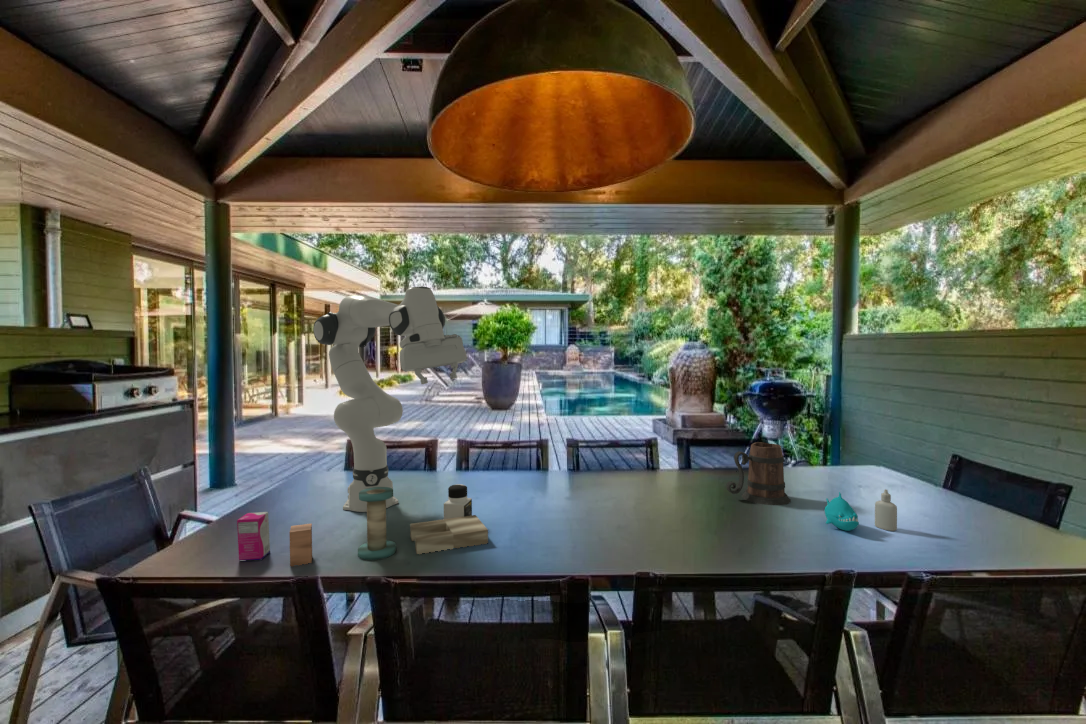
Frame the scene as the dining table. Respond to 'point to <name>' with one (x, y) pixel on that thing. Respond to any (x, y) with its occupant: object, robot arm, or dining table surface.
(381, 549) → the bobbin
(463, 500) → the medicine bottle
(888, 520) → the eye dropper bottle
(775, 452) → the tankard
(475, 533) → the notched board
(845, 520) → the toy shark
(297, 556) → the wooden block
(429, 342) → the robot arm
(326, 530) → the dining table surface
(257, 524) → the supplement box
